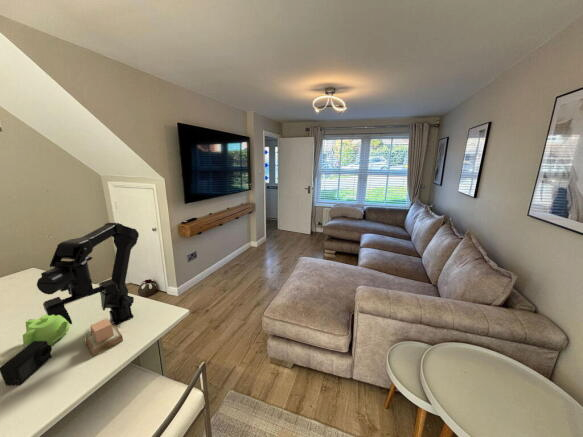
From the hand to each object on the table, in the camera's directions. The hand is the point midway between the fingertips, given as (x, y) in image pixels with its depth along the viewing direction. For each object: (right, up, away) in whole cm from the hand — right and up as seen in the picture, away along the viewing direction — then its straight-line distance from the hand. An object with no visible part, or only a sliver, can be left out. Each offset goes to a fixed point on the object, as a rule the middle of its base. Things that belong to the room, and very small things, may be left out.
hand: (88, 316), depth 84 cm
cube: (+2, -9, +4) cm, 10 cm away
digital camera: (-12, -15, -7) cm, 20 cm away
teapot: (-18, -11, +5) cm, 22 cm away
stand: (+2, -11, +5) cm, 13 cm away
